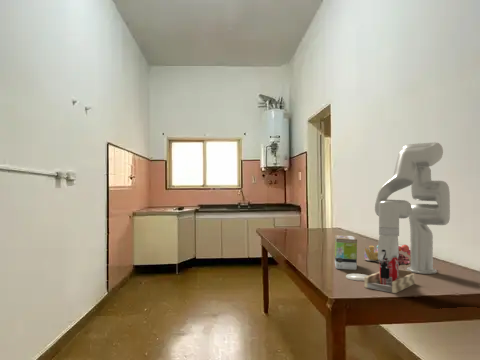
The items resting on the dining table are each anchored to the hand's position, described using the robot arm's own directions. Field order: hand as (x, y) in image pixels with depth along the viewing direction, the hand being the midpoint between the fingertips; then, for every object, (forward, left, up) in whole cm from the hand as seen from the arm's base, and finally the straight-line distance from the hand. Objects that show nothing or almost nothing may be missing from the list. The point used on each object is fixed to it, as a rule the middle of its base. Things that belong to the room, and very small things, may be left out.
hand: (389, 276), depth 153 cm
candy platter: (-55, -23, -4) cm, 59 cm away
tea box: (-23, -31, -4) cm, 39 cm away
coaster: (-4, -15, -4) cm, 16 cm away
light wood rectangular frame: (-1, 0, -4) cm, 4 cm away
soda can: (0, 0, -4) cm, 4 cm away
